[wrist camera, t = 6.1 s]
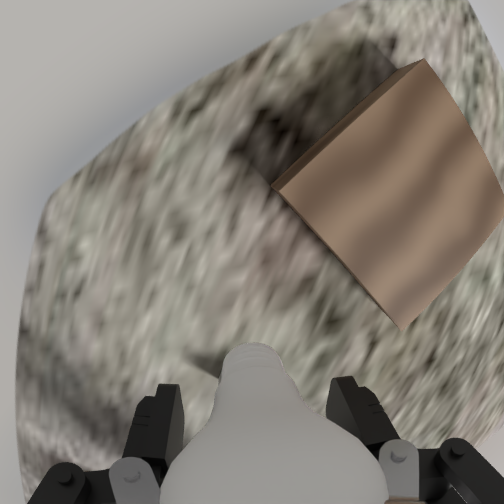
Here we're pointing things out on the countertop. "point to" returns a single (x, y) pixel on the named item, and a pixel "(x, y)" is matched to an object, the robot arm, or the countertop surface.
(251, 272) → the countertop surface
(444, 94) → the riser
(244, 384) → the lightbulb
